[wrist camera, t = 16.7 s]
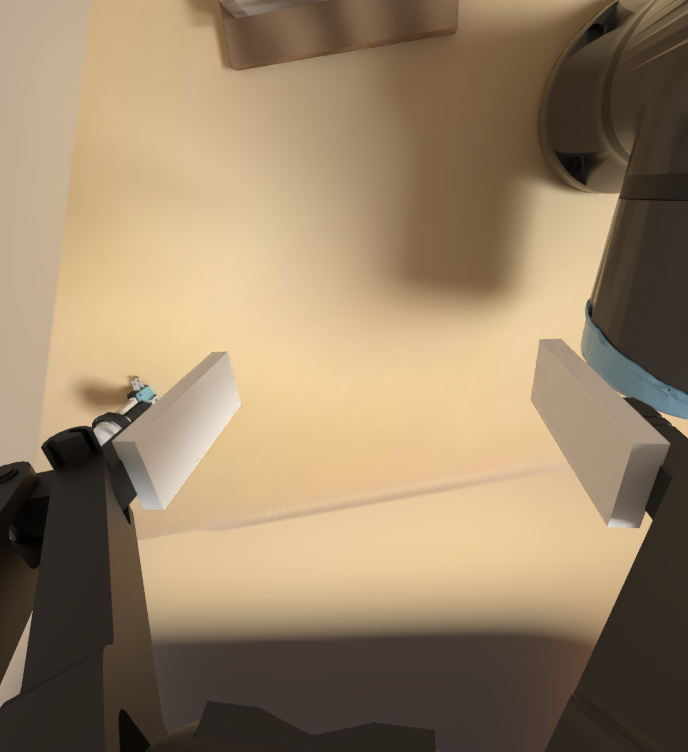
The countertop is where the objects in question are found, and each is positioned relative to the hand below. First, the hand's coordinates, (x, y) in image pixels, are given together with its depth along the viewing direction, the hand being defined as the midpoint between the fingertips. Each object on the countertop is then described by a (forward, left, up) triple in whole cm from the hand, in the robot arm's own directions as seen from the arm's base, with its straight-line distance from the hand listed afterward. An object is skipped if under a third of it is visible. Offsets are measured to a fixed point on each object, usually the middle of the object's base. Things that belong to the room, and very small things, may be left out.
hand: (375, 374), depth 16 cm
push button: (+38, +18, -31) cm, 52 cm away
